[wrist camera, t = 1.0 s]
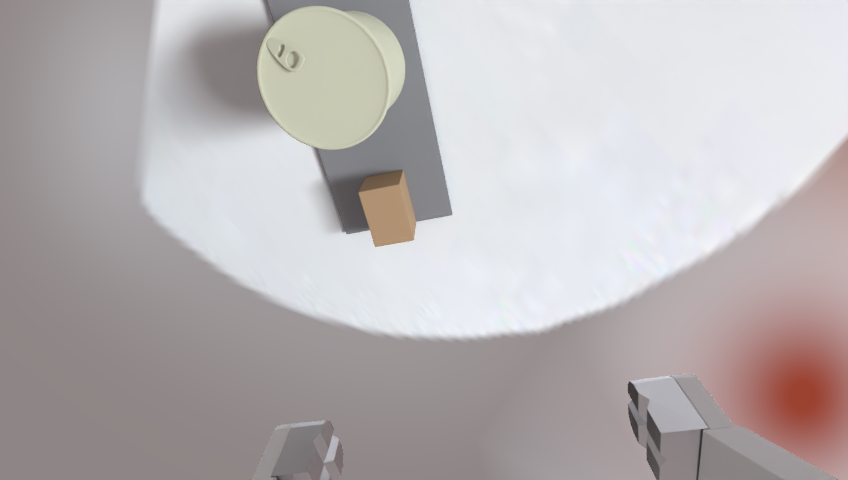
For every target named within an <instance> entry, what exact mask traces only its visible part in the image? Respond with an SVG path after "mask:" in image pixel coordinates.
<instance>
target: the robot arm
mask: <svg viewBox="0 0 848 480" xmlns="http://www.w3.org/2000/svg"><path fill="white" fill-rule="evenodd" d="M628 394H629V395H630V397H631V399H632V401H631V402H630V403H629V404H628V413H629V419H630V423H631V426H632V429H633V432H634V434H635V437H636V438H637V441H638V442H639V444H641V445H642V446H643V447H645V448H646V449H647V461H648V463H649V465H650V467H651V469H652V471H653V473H654V476H655V478H656V480H838V479H836V478H835V477H833V476H831V475H829V474H827V473H826V472H824V471H822V470H820V469H819V468H817V467H815V466H813V465H811V464H810V463H808V462H806V461H804V460H802V459H801V458H799V457H797V456H795V455H793V454H792V453H790V452H788V451H786V450H784V449H783V448H781V447H779V446H777V445H775V444H774V443H772V442H770V441H768V440H766V439H765V438H763V437H761V436H759V435H757V434H756V433H754V432H752V431H750V430H748V429H746V428H745V427H743V426H734V425H733V423H732V422H731V421H730V420H729V418H728V417H727V416H726V414H725V413H724V412H723V410H722V409H721V408H720V406H719V405H718V404H717V403H716V401H715V400H714V399H713V397H712V396H711V395H710V393H709V392H708V391H707V390H706V388H705V387H704V386H703V384H702V383H701V382H700V380H699V379H698V378H697V376H696V375H694V374H693V373H686V374H679V375H671V376H662V377H655V378H648V379H641V380H633V381H629V383H628ZM333 431H334V427H333V425H332V423H331V421H328V420H325V421H315V422H306V423H295V424H287V425H279V426H278V427H277V428H276V429H275V430H274V431H273V433H272V436H271V438H270V440H269V443H268V445H267V447H266V449H265V452H264V454H263V456H262V459H261V461H260V463H259V465H258V468H257V470H256V472H255V474H254V476H253V479H252V480H337V479H338V478H339V477H340V476H341V473H342V468H343V449H342V445H341V442H340V440H339V439H338V438H336V437H334V436H333Z"/></svg>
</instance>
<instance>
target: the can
mask: <svg viewBox="0 0 848 480" xmlns="http://www.w3.org/2000/svg"><path fill="white" fill-rule="evenodd" d="M404 79H405V60H404V55H403V51H402V48H401V46H400V44H399V42H398V40H397V38H396V36H395V35H394V34H393V32H392V31H391V30H390V29H389V28H388V27H387V26H386V25H385V24H384V23H383V22H382V21H380V20H379V19H377V18H376V17H374V16H372V15H370V14H367V13H364V12H359V11H341V10H338V9H335V8H331V7H326V6H307V7H302V8H298V9H295V10H293V11H291V12H289V13H287V14H285V15H284V16H282V17H281V18H280V19H279V20H277V21H276V22H275V23H274V24H273V25H272V27H271V28H270V29H269V31H268V32H267V34H266V35H265V37H264V39H263V41H262V43H261V46H260V49H259V53H258V59H257V80H258V86H259V90H260V93H261V97H262V99H263V101H264V104H265V106H266V108H267V110H268V111H269V113H270V114H271V116H272V117H273V119H274V120H275V121H276V123H277V124H278V125H279V126H280V127H281V128H282V129H283V130H284V131H285V132H287V133H288V134H289V135H290V136H292V137H293V138H295V139H296V140H298V141H300V142H302V143H304V144H306V145H309V146H312V147H315V148H320V149H327V150H337V149H344V148H348V147H351V146H354V145H356V144H358V143H360V142H362V141H364V140H365V139H367V138H368V137H369V136H370V135H371V134H372V133H373V132H374V131H375V130H376V129H377V128H378V127H379V125H380V124H381V122H382V121H383V119H384V117H385V115H386V112H387V110H388V109H389V108H390V107H391V106H392V105H393V104H394V102H395V101H396V100H397V98H398V96H399V94H400V92H401V90H402V87H403V84H404Z"/></svg>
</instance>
